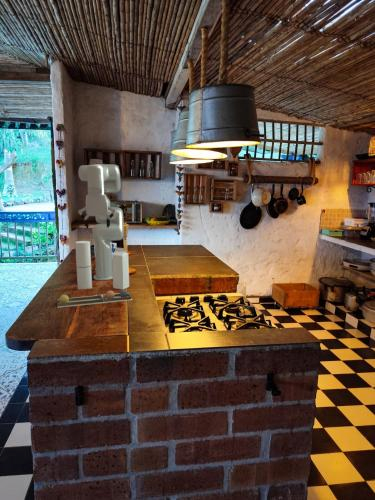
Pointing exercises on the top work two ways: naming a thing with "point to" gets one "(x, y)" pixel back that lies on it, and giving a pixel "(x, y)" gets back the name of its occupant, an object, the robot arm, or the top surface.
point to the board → (93, 299)
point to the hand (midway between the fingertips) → (97, 227)
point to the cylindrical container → (83, 265)
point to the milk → (120, 269)
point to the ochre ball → (64, 299)
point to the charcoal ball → (123, 293)
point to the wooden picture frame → (81, 301)
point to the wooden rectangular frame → (116, 298)
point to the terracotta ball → (110, 294)
